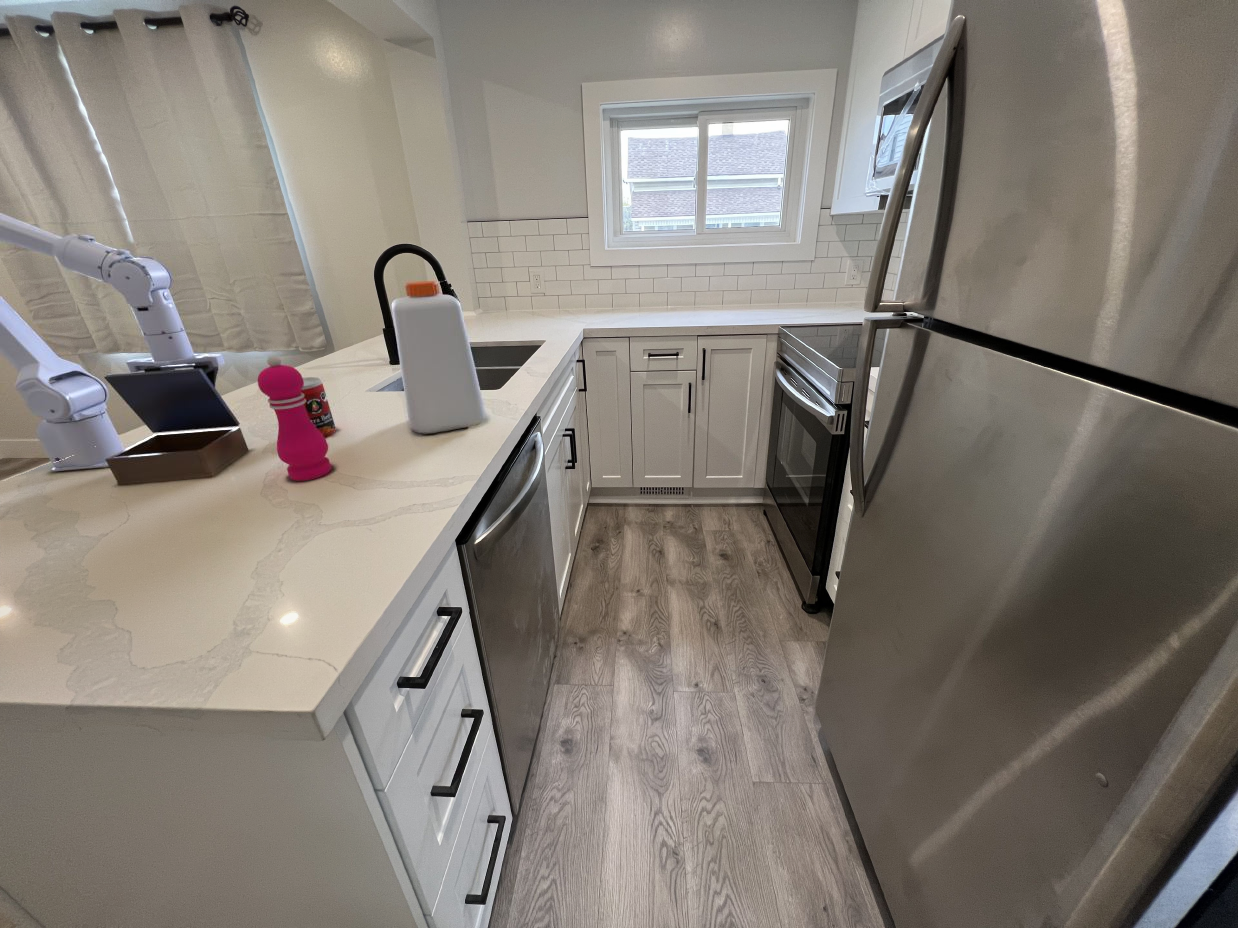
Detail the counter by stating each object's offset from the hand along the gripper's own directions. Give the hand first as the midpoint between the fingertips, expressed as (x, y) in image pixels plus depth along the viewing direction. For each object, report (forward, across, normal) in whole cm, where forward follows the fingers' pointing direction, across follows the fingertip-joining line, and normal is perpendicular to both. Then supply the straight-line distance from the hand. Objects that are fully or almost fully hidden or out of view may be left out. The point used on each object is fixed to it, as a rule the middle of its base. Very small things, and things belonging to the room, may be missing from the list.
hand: (194, 407), depth 92 cm
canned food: (+9, +17, +5) cm, 20 cm away
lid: (-2, 0, -4) cm, 5 cm away
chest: (+9, 0, -8) cm, 12 cm away
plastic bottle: (+9, +43, +7) cm, 44 cm away
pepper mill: (+9, +24, -15) cm, 30 cm away
